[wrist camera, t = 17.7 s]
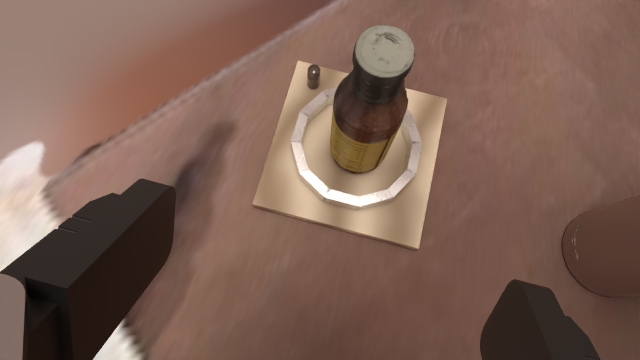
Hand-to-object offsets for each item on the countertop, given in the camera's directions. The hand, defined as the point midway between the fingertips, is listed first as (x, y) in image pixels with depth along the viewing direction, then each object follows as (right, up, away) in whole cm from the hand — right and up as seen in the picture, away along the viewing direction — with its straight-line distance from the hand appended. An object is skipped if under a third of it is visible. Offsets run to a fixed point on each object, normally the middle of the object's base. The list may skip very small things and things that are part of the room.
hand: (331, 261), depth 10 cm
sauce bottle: (+4, +5, +37) cm, 37 cm away
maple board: (+4, +5, +38) cm, 38 cm away
